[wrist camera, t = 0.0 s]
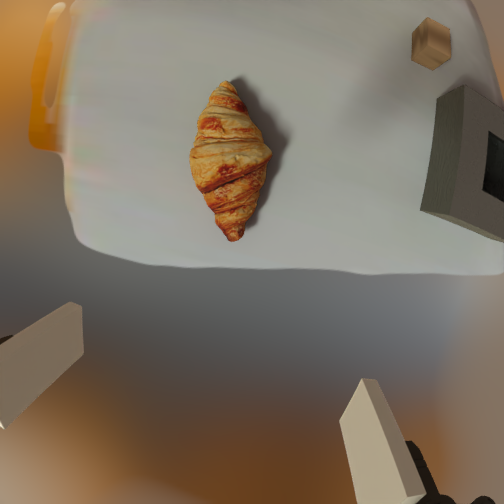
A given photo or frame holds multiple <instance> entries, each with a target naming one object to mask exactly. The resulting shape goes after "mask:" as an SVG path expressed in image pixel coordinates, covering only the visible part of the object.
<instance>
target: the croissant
mask: <svg viewBox="0 0 504 504" xmlns="http://www.w3.org/2000/svg"><path fill="white" fill-rule="evenodd" d="M197 124H198V125H197V127H198V133H197V135H196V137H195V142H194V148H192V149H191V151H190V167H191V172H192V176H193V179H194V181H195V183H196V187H197V188H198V189H199V190H200V192H201V193H202V194H203V196H204V199H205V201H206V203H207V205H208V207H210V209H211V210H212V211H213V212H214V213H215V222H216V224H217V226H218V227H219V228H220V229H221V230H222V231H223V233H224V235H226V236H227V239H228V241H230V242H234V241H237V240H239V239H240V238H242V236H243V235H244V231H245V224H246V221H247V220H248V219H249V218H250V217H251V216H252V214H253V213H254V211H255V208H256V206H257V200H258V198H259V196H260V193H259V190H260V188H261V187H262V186H263V184H264V182H265V178H266V167H267V163H268V161H269V160H270V159H271V157H272V152H271V150H270V149H269V147H268V146H266V145H265V144H264V141H263V138H262V134H261V131H260V130H259V129H258V128H257V126H256V125H254V124H253V122H252V121H251V120H250V117H249V115H248V111H247V108H246V106H245V105H244V103H243V102H242V101H241V100H240V98H239V97H238V94H237V91H236V89H235V87H234V86H233V85H232V84H231V83H230V82H228V81H224V82H222V83H221V84H220V85H219V87H218V88H216V90H214V91H213V92H212V94H211V96H210V97H209V103H208V104H207V107H206V108H205V109H204V110H203V112H202V113H201V115H200V116H199V120H198V122H197Z"/></svg>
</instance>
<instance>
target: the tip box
mask: <svg viewBox="0 0 504 504" xmlns="http://www.w3.org/2000/svg"><path fill="white" fill-rule="evenodd" d="M420 211H423V212H426V213H429V214H431V215H434V216H436V217H439V218H442V219H444V220H447V221H449V222H452V223H454V224H457V225H459V226H462V227H464V228H467V229H469V230H471V231H474V232H476V233H478V234H481V235H483V236H485V237H487V238H490V239H493V240H496V241H500V242H503V243H504V111H503V110H502V109H501V108H499V107H498V106H496V105H495V104H494V103H492V102H491V101H489V100H488V99H486V98H485V97H483V96H482V95H480V94H479V93H477V92H476V91H474V90H472V89H471V88H469V87H468V86H466V85H463V86H461V87H459V88H457V89H455V90H453V91H451V92H449V93H447V94H445V95H443V96H441V97H439V98H437V104H436V115H435V125H434V134H433V142H432V149H431V155H430V162H429V168H428V173H427V179H426V184H425V189H424V194H423V199H422V203H421V208H420Z"/></svg>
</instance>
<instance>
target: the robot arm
mask: <svg viewBox="0 0 504 504" xmlns="http://www.w3.org/2000/svg"><path fill="white" fill-rule="evenodd" d="M82 332H83V331H82V306H80V305H77V304H75V303H72V302H68V303H66V304H65V305H63V306H61V307H60V308H58V309H56V310H55V311H53V312H52V313H50V314H48V315H47V316H45V317H43V318H42V319H40V320H38V321H37V322H35V323H34V324H32V325H31V326H29V327H27V328H26V329H24V330H23V331H21V332H19V333H18V334H16V335H15V336H13V335H10V336H6V337H3V338H1V339H0V426H1V427H2V428H3V429H6V428H7V427H8V426H9V425H10V424H11V423H12V422H13V421H14V420H15V419H16V418H17V417H18V416H19V415H20V414H21V413H22V411H24V410H25V409H26V408H27V407H28V406H29V405H30V404H31V403H32V402H33V401H34V400H35V399H36V398H37V397H38V396H39V395H40V394H41V393H42V392H43V391H44V390H45V389H47V387H49V386H50V385H51V384H52V383H53V382H54V381H55V380H56V379H57V378H58V377H59V376H60V375H61V374H62V373H63V372H65V371H66V370H67V369H68V368H69V367H70V366H71V365H72V364H73V363H74V362H75V361H76V360H78V359H79V358H80V357H81V356H82V355H83V354H84V349H83V333H82ZM339 422H340V426H341V430H342V434H343V438H344V443H345V447H346V452H347V456H348V461H349V465H350V470H351V474H352V479H353V484H354V489H355V493H356V498H357V503H358V504H456V503H455V502H454V500H453V499H452V498H450V497H449V496H446V495H440V494H439V492H438V490H437V487H436V485H435V482H434V480H433V478H432V476H431V473H430V471H429V469H428V467H427V464H426V462H425V460H423V456H422V454H421V451H420V450H419V448H418V447H417V446H416V445H415V444H414V443H413V442H412V441H405V440H404V438H403V436H402V434H401V431H400V429H399V427H398V425H397V423H396V421H395V418H394V416H393V414H392V412H391V410H390V408H389V405H388V403H387V401H386V399H385V397H384V395H383V393H382V391H381V388H380V386H379V384H378V382H377V380H373V379H364V378H362V379H361V381H360V383H359V385H358V387H357V389H356V391H355V393H354V395H353V397H352V399H351V401H350V403H349V404H348V406H347V408H346V410H345V412H344V413H343V415H342V417H341V419H340V421H339ZM471 504H495V502H494V501H493V500H492V499H491V498H490V497H487V496H480V497H478V498H476V499H475V500H474V501H473V502H472V503H471Z"/></svg>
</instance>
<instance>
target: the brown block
mask: <svg viewBox="0 0 504 504" xmlns="http://www.w3.org/2000/svg"><path fill="white" fill-rule="evenodd" d="M450 58H451V45H450V29H449V28H447V27H445V26H443V25H441V24H440V23H438V22H436V21H434V20H432V19H430V18H428V17H427V18H426V19H425V20H424V21H423V22H422V23H421V24H420V25H419V26H418V27H417V28H416V30H415V31H414V32H413V33H412V55H411V60H412V61H414V62H416V63H418V64H420V65H423V66H425V67H427V68H429V69H431V70H434V69H436V68H437V67H439V66H440V65H441V64H443V63H444V62H446V61H447V60H448V59H450Z"/></svg>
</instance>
